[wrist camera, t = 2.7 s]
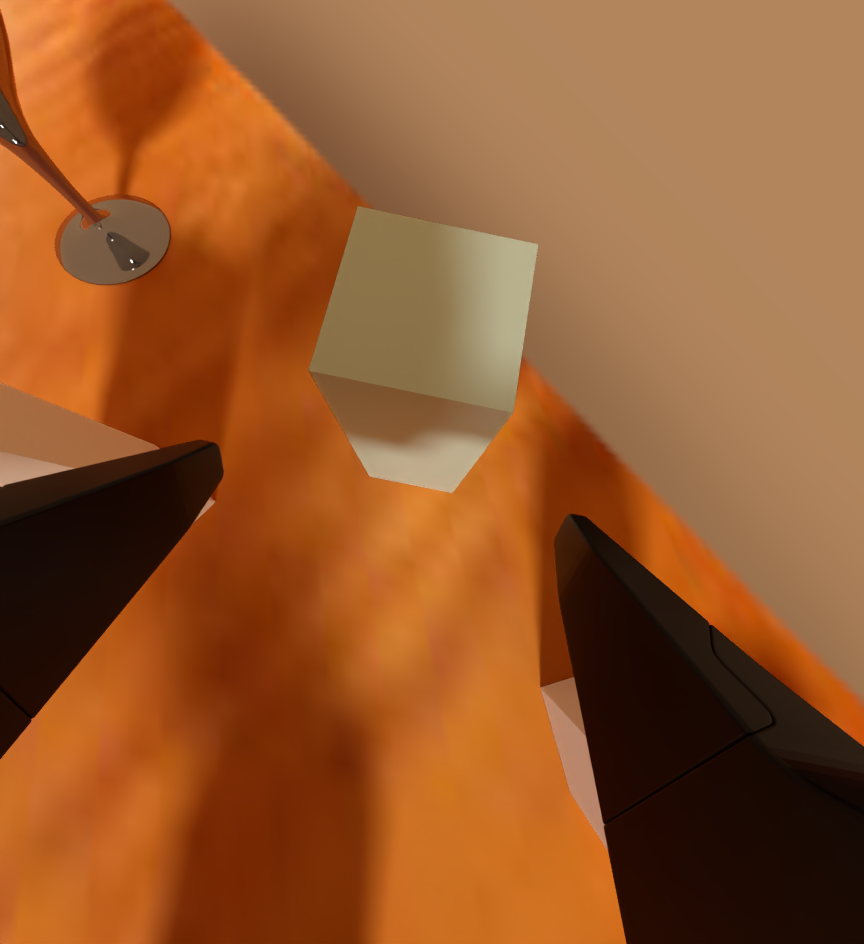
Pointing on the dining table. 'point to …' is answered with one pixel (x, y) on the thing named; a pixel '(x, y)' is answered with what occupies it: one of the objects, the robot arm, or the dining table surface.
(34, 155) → the wine glass
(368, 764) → the dining table surface
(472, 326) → the sage block
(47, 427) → the cream block
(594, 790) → the pale pink tall block
